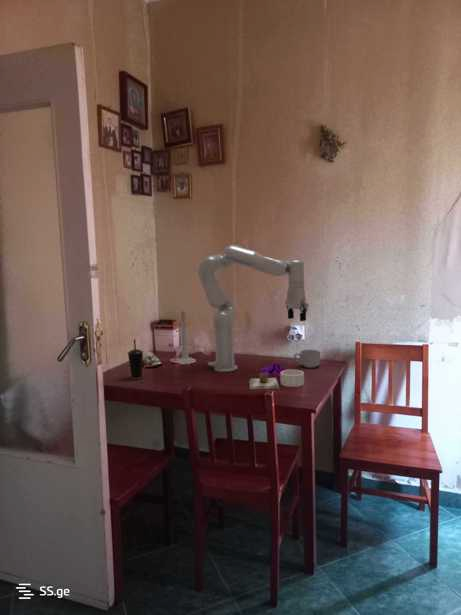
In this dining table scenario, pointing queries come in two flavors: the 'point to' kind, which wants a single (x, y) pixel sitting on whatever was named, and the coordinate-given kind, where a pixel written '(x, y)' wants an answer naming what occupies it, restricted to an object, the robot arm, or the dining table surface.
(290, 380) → the bowl
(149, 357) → the skull
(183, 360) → the candlestick
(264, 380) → the lid
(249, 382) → the mat
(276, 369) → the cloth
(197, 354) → the dining table surface
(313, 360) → the teacup
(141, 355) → the drinking cup
